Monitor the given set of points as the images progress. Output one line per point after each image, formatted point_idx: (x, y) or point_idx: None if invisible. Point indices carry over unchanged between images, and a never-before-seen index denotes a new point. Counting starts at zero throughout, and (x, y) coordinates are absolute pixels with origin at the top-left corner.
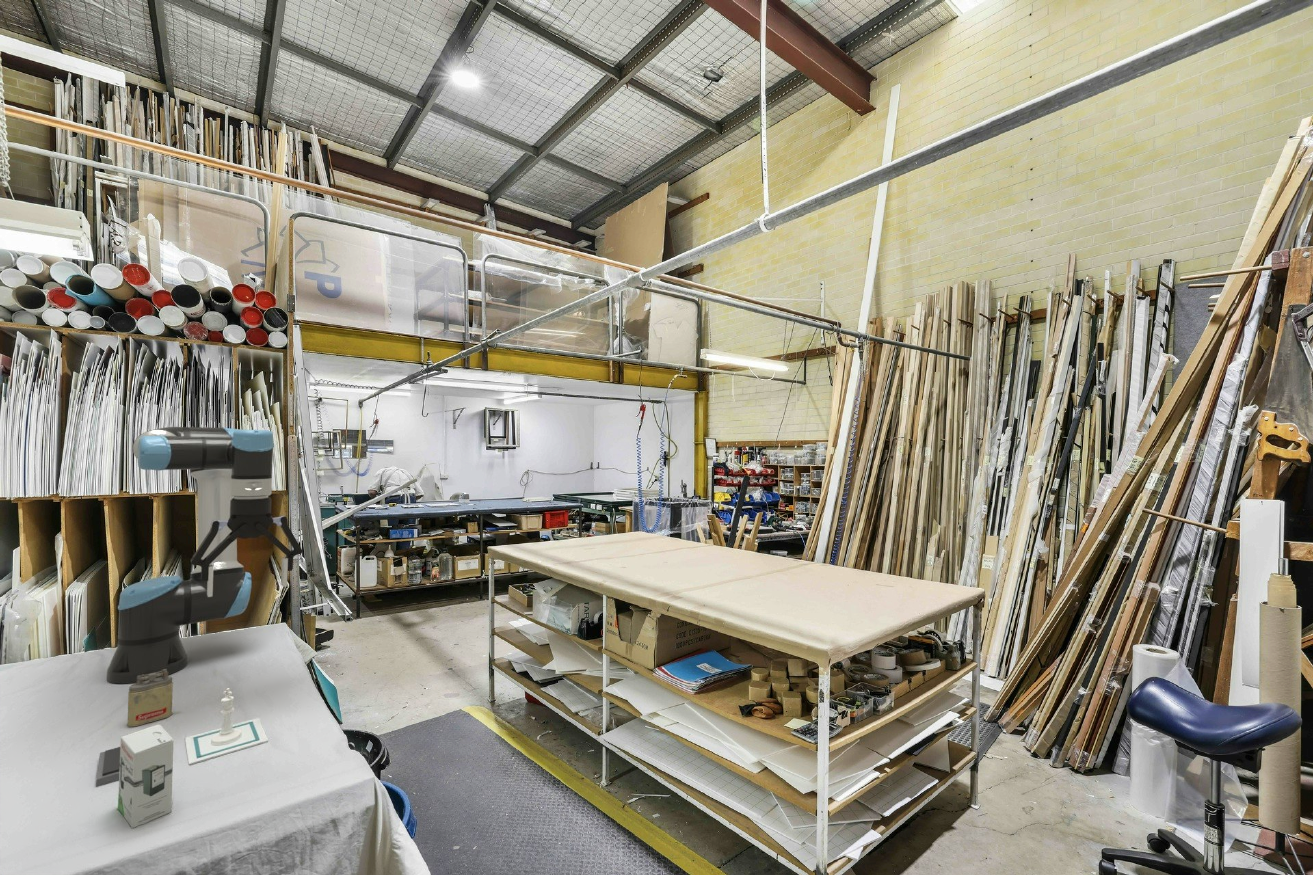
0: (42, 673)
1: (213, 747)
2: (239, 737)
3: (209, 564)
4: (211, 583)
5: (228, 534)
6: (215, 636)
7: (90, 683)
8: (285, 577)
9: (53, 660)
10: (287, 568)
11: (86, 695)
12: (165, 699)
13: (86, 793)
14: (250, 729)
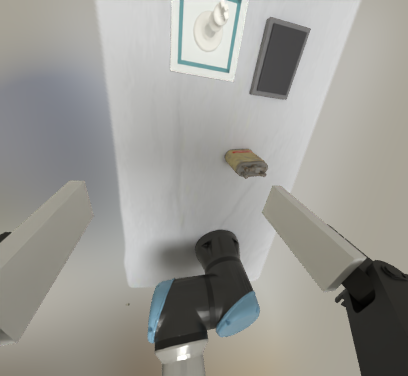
0: (253, 266)
1: None
2: (197, 17)
3: (374, 271)
4: (300, 207)
5: None
6: None
7: (243, 242)
8: (56, 201)
9: None
10: (11, 233)
11: (250, 226)
12: (237, 155)
13: (314, 21)
14: (183, 38)
